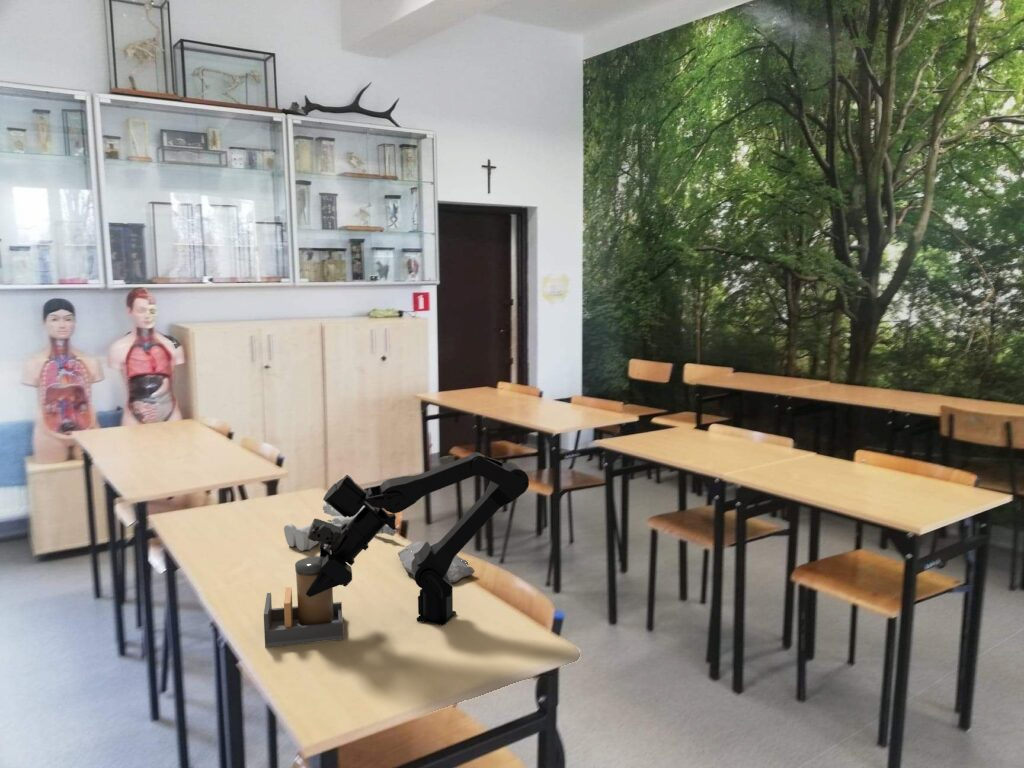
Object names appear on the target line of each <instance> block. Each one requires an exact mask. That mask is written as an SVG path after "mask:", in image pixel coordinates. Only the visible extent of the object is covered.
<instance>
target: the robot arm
mask: <svg viewBox="0 0 1024 768" xmlns="http://www.w3.org/2000/svg"><path fill="white" fill-rule="evenodd" d="M477 475H478V476H480V477H483V478H484V479H486V480H488V481H489V484H488V486H486V487H487V488H486V490H485V492H484V493H483V494H482V496H481V497H479V499H478V500H476V501H475V503H474V504H473V505H472V506H471V507H470V508H469V510H467V512H466V513H465V514H464V515H463V516H462V517H461V518H460V519H459V520H458V521H457V522H456V523H455V524H454V525H453V526H452V528H450V530H449V531H447V533H446V534H445V535H444V536H443V537H442V538H441V539H440V540H439V541H438V542H436V543H434V544H432V546H431V545H430V544H431V543H429V541H425V542H426V543H425V544H424V545H423V547H422V548H421V549H420V550H419V551H418V552H417V553H415V554H414V557H415V558H414V559H413V561H412V563H411V564H412V565H411V569H412V573H413V574H412V575H413V579H414V582H415V584H416V585H417V586H418V587H419V588H420V590H419V595H418V596H417V614H418V616H417V617H416V618H415V619H416V622H421V623H427V624H432V625H436V626H445V625H446V624H447V623H448V622H449V621H451V619H452V618H454V617H455V616H456V615H457V611H455V610H453V608H454V607H453V605H454V604H453V603H454V601H453V600H454V597H453V592H454V591H453V589H454V587H453V584H452V582H450V580H449V578H448V575H447V572H448V570H449V567H450V565H451V563H452V561H453V559H454V557H455V556H456V555H457V556H458V554H459V553H460V551H461V550H462V549H463V548H464V547H466V545H467V544H468V543H469V542H470V540H472V539H473V538H474V537H475V535H476V534H477V533H478V532H479V531H480V530H481V529H482V528H483V527H484V526H485V525H486V524H487V523H488V522H489V521H490V519H491V518H492V517H493V516H494V515H495V514H496V513H497V512H498V511H499V510H500V509H501V508H503V507H504V506H506V505H508V504H511V503H513V502H515V500H517V499H519V497H521V496H522V495H523V494H525V493H526V491H528V489H529V485H530V479H529V475H528V474H527V473H526V472H525V471H524V470H523V469H522V468H521V467H520V466H519V465H518V464H516V463H515V462H501V461H499V460H497V459H494V458H491V457H489V456H486V455H483V454H482V453H480V452H478V451H476V452H472V453H470V454H468V455H467V456H464V457H462V458H459V459H456V460H454V461H451V462H448V463H446V464H443V465H440V466H438V467H436V468H433V469H430V470H428V471H425V472H422V473H420V474H415V475H404V476H399V477H394V478H389V479H386V480H384V481H383V482H382V483H381V484H380V485H379V484H378V485H374V486H369V487H365V488H363V487H361V486H360V485H359V484H358V483H356V482H355V480H354V479H353V478H352V477H351V476H349V475H348V474H346V475H344V477H343V478H341V479H340V480H338V481H336V483H333V484H332V486H331V487H330V488H329V489H328V490H327V491H326V493H325V495H324V497H323V498H322V499H323V500H322V501H324V502H325V504H326V503H328V504H329V506H331V507H332V508H334V509H335V510H336V511H337V512H338V513H340V514H341V515H342V516H343V517H347V516H348V517H353V516H355V515H356V514H357V513H358V512H359V511H360V509H361V508H362V507H363V506H365V507H364V508H363V509H362V510H361V511H360V512H359V513H358V514H357V515H356V516H355V517H354V518H353V519H352V521H351V522H350V523H349V524H348V523H347V522H346V524H345V523H344V524H343V525H342V526H341V527H338V526H335V525H333V524H331V523H328V522H329V521H325V520H322V519H320V518H313V521H312V523H311V524H312V525H311V527H310V530H309V532H308V538H309V539H310V540H312V541H318V542H319V556H320V557H325V558H324V560H323V561H322V562H321V561H320V573H319V574H318V576H317V577H316V579H315V580H314V582H313V583H312V585H311V586H310V588H309V589H308V591H307V592H306V595H307V596H309V597H311V596H314V595H316V594H318V593H321V592H323V591H325V590H328V589H330V588H336V587H338V586H343V587H345V588H346V587H347V586H348V585H349V584H350V583H351V582H352V581H353V571H352V566H353V565H354V564H355V559H356V557H357V556H358V555H359V554H360V553H361V552H362V551H367V549H369V544H370V542H371V541H372V540H373V539H374V537H376V536H377V535H378V534H379V533H380V532H379V531H380V530H381V529H382V528H383V527H384V526H385V525H388V526H389V527H390V528H391V529H392V530H397V529H396V527H397V526H396V519H397V516H396V514H398V513H401V512H404V511H405V510H406V509H407V508H410V507H412V506H413V505H414V504H416V503H417V502H418V501H420V500H421V499H422V498H423V497H425V496H427V495H428V494H431V493H434V492H436V491H439V490H441V489H444V488H446V487H448V486H451V485H455V484H457V483H459V482H462V481H464V480H466V479H467V480H468V479H469V478H472V477H475V476H477ZM382 508H384V510H383V509H382Z"/></svg>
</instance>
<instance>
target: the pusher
mask: <svg viewBox="0 0 1024 768" xmlns="http://www.w3.org/2000/svg"><path fill="white" fill-rule="evenodd" d="M292 589H293V587H292V586H288V587H285V591H284V599H283V600H284V601H283V608H284V617H285V628H286V627H292V625H293V609H292V607H293V592H292V591H293V590H292Z"/></svg>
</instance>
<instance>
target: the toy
mask: <svg viewBox="0 0 1024 768" xmlns="http://www.w3.org/2000/svg"><path fill="white" fill-rule="evenodd" d="M364 507H365V506H363V507H362V508H361V509H360V511H361V510H362V509H363V508H364ZM321 508H322V511H323V513H324V514H325V515H329V516H331V517H335V518H332V519H331V521H327V522H328V523H331V524H333V525H335V526H338V527H341V526H342V525H343V524H344V523H345V524H346V522H347V523H348V524H349V523H350V522H351V521H352V519H353V518H354V517H355V516H356V515H357V514H358V513H359V512H360V511H359V512H358V513H357V514H356V515H355V516H353V517H348V516H347V517H343V516H342V515H341V514H340V513H338V512H337V511H336V510H335V509H334V508H332V507H331V506H330V505H329V504H328V503H326V502H325V504H323V505H322V507H321ZM382 509H383V510H385V509H384V508H382ZM311 525H312V523H310V524H308V525H305V526H301V527H297V526H296V525H294V524H293V523H289V524H286V525H284V527H283V530H284V531H283V532H284V537H285V540H286V541H285V542H286V543H287V545H288V547H293V548H294V547H296V548H297V549H298V550H299V551H300V552H303V551H310V550H311V549H312V548H314V547H315V546H316V545H317V544H318V543H319V544H320V542H318V541H312V540H310V539H309V538H308V532H309V530H310V527H311ZM397 532H398V530H397V529H395V530H392V529H391V528H390V527H389V526H388V525H385V526H384V527H383V528H382V529H381V530H380V531H379V532H378V533H381V534H386V535H389V536H392V537H394V536H395V535H396V534H397Z"/></svg>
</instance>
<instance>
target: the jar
mask: <svg viewBox="0 0 1024 768" xmlns="http://www.w3.org/2000/svg"><path fill="white" fill-rule="evenodd" d="M324 558H325V557H320V555H319V556H308V557H304V558H302V559H299V560H298V561H296V562H295V564H294V567H295V570H294V571H295V579H296V595H297V596H296V597H297V606H298V619H299V624H300V625H301V626H306V625H315V624H325V623H331V622H332V621H333V620H334V610H333V603H334V594H333V593H334V592H333V590H334V589H333V588H334V587H333V588H330V589H328V590H325V591H323V592H321V593H318V594H316V595H314V596H311V597H309V596H307V595H306V592H307V591H308V589H309V588H310V586H311V585H312V583H313V582H314V580H315V579H316V577H317V576H318V574H319V573H320V561H321V562H322V561H323V560H324Z"/></svg>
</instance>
